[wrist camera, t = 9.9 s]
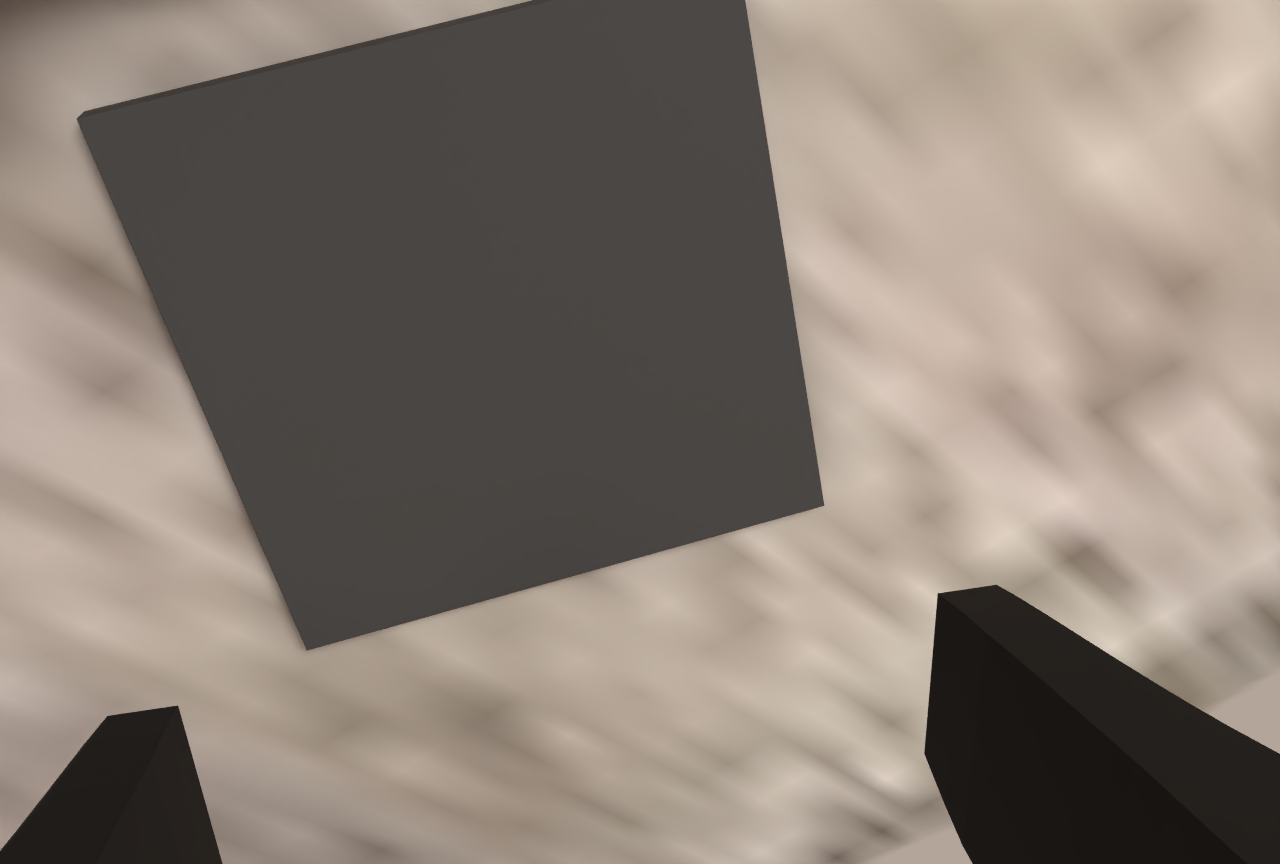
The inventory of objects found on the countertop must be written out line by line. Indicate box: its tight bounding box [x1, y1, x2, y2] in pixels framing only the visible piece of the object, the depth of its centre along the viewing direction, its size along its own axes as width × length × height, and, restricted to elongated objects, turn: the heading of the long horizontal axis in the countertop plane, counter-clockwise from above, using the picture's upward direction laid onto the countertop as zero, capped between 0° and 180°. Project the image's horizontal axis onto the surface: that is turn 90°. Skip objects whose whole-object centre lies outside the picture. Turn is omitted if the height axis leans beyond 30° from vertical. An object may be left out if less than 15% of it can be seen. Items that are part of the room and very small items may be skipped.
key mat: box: [77, 0, 824, 650], centre depth 20 cm, size 10×10×1 cm
